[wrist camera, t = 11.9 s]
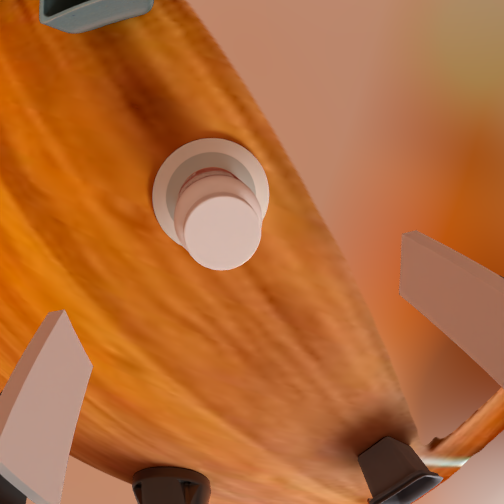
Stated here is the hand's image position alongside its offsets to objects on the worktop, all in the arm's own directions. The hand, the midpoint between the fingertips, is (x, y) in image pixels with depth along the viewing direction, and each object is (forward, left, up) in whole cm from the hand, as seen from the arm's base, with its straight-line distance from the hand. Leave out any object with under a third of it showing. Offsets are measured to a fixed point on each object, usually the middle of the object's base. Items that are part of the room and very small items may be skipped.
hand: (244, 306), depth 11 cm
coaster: (0, 0, -20) cm, 20 cm away
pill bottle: (0, 0, -20) cm, 20 cm away
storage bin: (+25, -63, -20) cm, 71 cm away
